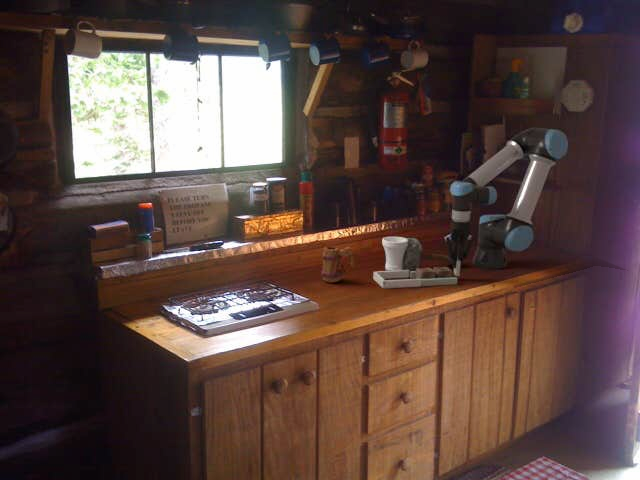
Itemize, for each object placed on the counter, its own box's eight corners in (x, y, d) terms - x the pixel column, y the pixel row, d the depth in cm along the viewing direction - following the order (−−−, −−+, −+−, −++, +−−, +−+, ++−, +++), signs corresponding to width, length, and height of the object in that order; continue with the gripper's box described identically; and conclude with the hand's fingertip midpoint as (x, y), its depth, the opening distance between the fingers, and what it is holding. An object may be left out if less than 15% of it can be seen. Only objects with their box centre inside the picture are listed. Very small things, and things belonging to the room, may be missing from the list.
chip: (445, 278, 295) (446, 266, 294) (451, 282, 290) (452, 270, 289) (432, 278, 294) (433, 267, 293) (437, 282, 289) (438, 271, 287)
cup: (377, 268, 307) (378, 237, 304) (400, 266, 311) (402, 235, 307) (387, 275, 297) (388, 243, 294) (411, 273, 300) (412, 241, 297)
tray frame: (407, 276, 296) (408, 270, 295) (419, 286, 283) (420, 279, 282) (373, 278, 292) (373, 271, 292) (383, 288, 279) (383, 281, 278)
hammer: (463, 275, 310) (407, 271, 297) (449, 273, 319) (394, 270, 306) (465, 241, 310) (409, 237, 297) (451, 241, 320) (396, 237, 306)
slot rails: (444, 275, 299) (445, 269, 298) (457, 284, 287) (457, 278, 286) (409, 277, 295) (409, 271, 295) (420, 286, 283) (420, 280, 283)
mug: (317, 282, 286) (317, 246, 282) (323, 277, 293) (324, 242, 290) (351, 286, 281) (352, 250, 277) (357, 281, 288) (358, 246, 285)
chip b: (429, 278, 294) (429, 267, 293) (434, 283, 288) (435, 271, 287) (415, 279, 292) (416, 268, 291) (421, 283, 287) (421, 272, 286)
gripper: (471, 218, 292) (466, 272, 298) (442, 218, 289) (438, 273, 295) (479, 221, 285) (474, 277, 291) (449, 222, 282) (445, 278, 288)
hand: (456, 275), depth 293 cm, fingers closed
